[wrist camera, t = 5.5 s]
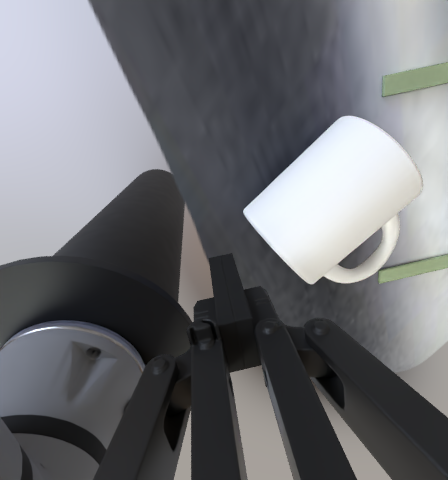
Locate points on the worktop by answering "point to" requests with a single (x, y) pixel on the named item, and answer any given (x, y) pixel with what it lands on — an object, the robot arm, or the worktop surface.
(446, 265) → the strips
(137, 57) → the worktop surface
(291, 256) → the mug
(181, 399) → the robot arm
